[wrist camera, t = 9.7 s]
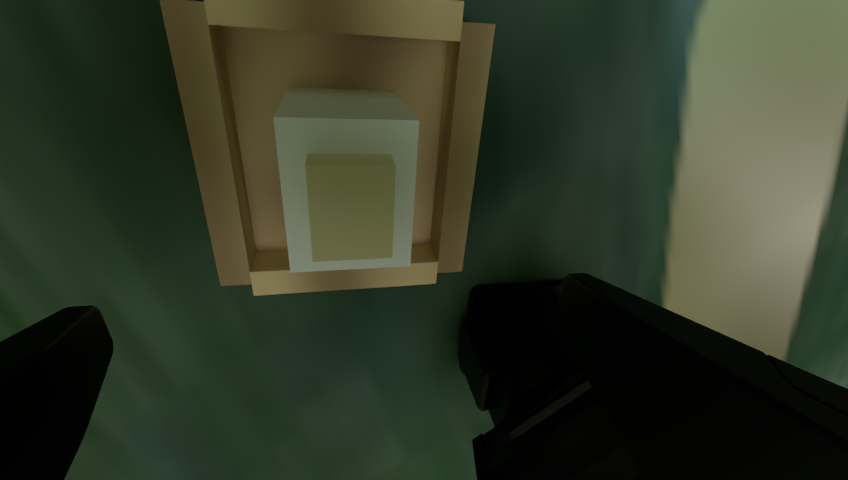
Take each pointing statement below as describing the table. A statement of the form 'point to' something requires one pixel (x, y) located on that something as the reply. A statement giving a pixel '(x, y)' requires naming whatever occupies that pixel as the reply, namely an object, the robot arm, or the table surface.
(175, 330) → the table surface
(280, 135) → the plug block
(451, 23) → the wooden tray
